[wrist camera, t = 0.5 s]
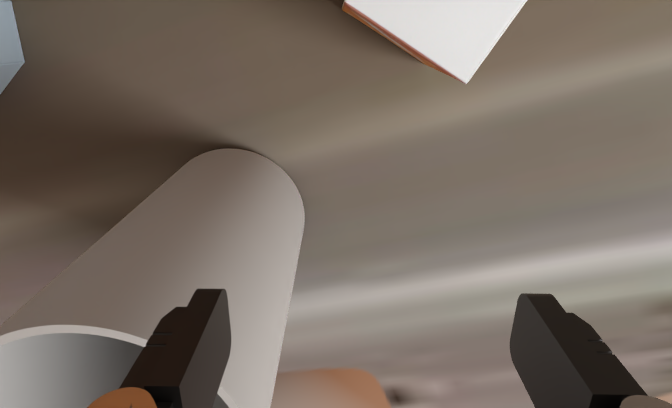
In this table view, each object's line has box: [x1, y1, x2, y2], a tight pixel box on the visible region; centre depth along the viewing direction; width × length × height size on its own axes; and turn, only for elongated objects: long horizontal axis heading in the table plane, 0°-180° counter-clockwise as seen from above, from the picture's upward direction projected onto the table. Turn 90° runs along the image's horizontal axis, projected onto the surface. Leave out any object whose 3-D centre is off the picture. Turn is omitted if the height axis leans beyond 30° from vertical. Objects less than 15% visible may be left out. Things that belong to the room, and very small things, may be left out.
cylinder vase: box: [0, 148, 305, 408], centre depth 29 cm, size 12×12×25 cm
